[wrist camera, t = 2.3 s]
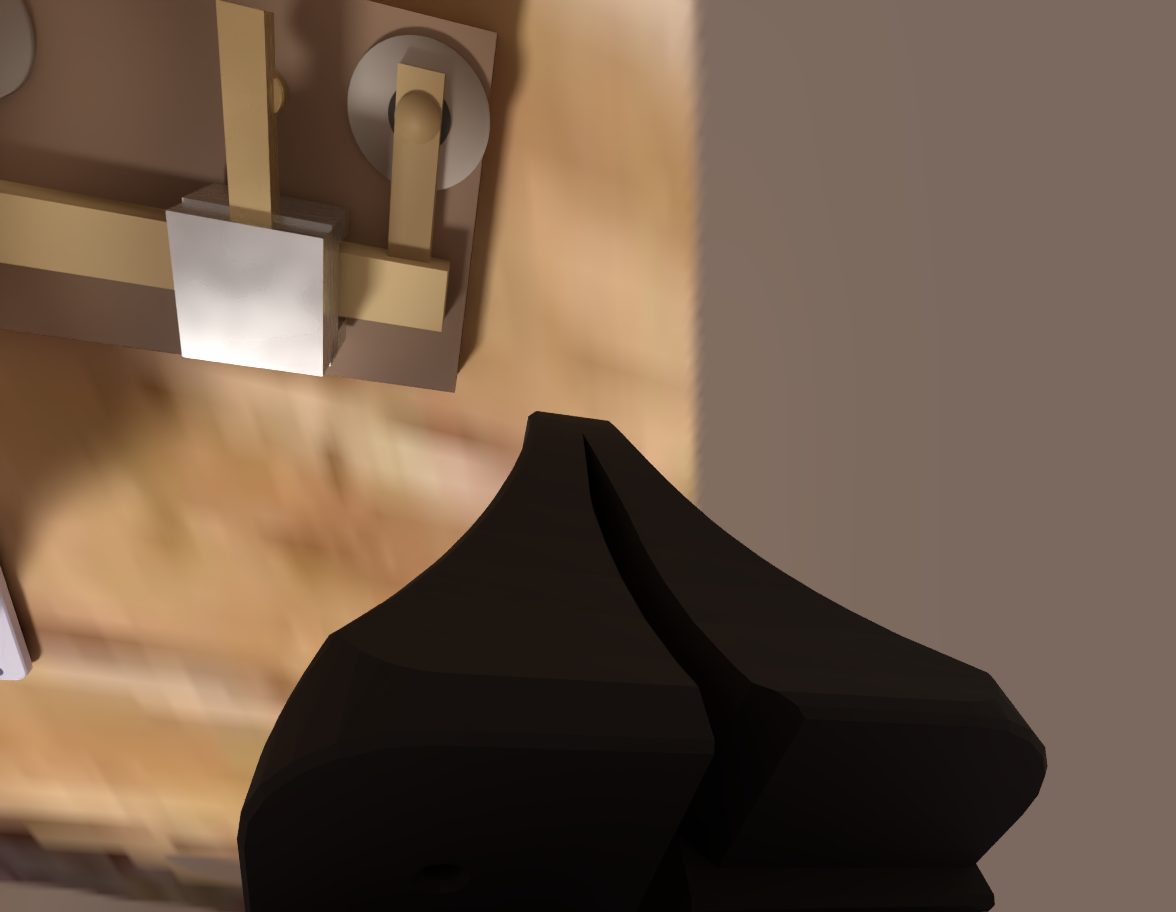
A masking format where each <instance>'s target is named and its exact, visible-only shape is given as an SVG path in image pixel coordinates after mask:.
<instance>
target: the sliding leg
mask: <svg viewBox="0 0 1176 912" xmlns="http://www.w3.org/2000/svg"><path fill="white" fill-rule="evenodd" d="M216 11H217V26H218V41H219V56H220V71H221V86H222V101H223V116H224V132H225V147H226V162H227V177H228V185H223V184H218V183H213V184H211V185H208V186H206V187H204V188H202V189H200V190H197V191H195V192H193V193H191V194H189V195H186V196H184V197H182V203H180V204H178V205H176V206H174V207H172V208H169V209H167V210H165V211H166V220H167V228H168V237H169V246H170V255H171V263H172V272H173V281H174V290H175V298H176V307H177V316H178V324H179V333H180V342H181V351H182V357H186V358H194V359H201V360H208V361H215V362H222V363H230V364H237V365H244V366H251V367H258V368H266V369H273V370H280V371H287V372H294V373H301V374H309V375H316V376H323V375H324V373H325V372H326V370H327V368H328V366H331V365H332V363H333V361H334V359H335V357H336V356H337V354H338V352H339V350H340V348H341V347H342V345H343V343H344V341H345V339H346V318H345V317H339V316H338V302H339V243H340V242H341V241H342V240H343V239H344V238H345V237H346V235H347V234H348V221H349V208H344V207H339V206H334V205H329V204H323V203H318V202H313V201H307V200H302V199H297V198H292V197H286V196H281V195H279V172H278V137H277V116H278V115H280V114H281V113H282V112H283V111H284V110H285V109H286V108H287V106H288V103H289V89H288V85H287V83H286V81H285V79H284V77H283V76H282V74H281V73H280V72H279V71H278V70H277V69H276V68H275V35H274V13H273V12H269V11H265V10H261V9H256V8H252V7H248V6H244V5H240V4H236V3H232V2H227V1H222V0H216Z"/></svg>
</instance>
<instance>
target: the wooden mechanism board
mask: <svg viewBox="0 0 1176 912" xmlns="http://www.w3.org/2000/svg"><path fill="white" fill-rule="evenodd" d="M222 1H227V2H232V3H236V4H240V5H244V6H248V7H252V8H256V9H261V10H265V11H269V12H273V13H274V35H275V68H276V69H277V70H278V71H279V72H280V73H281V74H282V76H283V77H284V79H285V81H286V83H287V85H288V89H289V103H288V106H287V108H286V109H285V110H284V111H283V112H282V113H281V114H280V115H278V116H277V137H278V172H279V195H281V196H286V197H292V198H297V199H302V200H307V201H313V202H318V203H323V204H329V205H334V206H339V207H344V208H349V221H348V234H347V235H346V237H345V238H344V239H343V240H342V241H341V242H340V243H339V302H338V316H339V317H345V318H346V339H345V341H344V343H343V345H342V347H341V348H340V350H339V352H338V354H337V356H336V357H335V359H334V361H333V363H332V365H331V366H328V368H327V370H326V372H325V373H324V375H331V376H338V377H346V378H353V379H360V380H367V381H374V382H381V383H389V384H396V385H403V386H410V387H417V388H424V389H432V390H439V391H446V392H453V393H455V387H456V380H457V373H458V365H459V356H460V348H461V339H462V331H463V322H464V314H465V306H466V297H467V289H468V280H469V272H470V263H471V255H472V246H473V238H474V229H475V221H476V213H477V204H478V196H479V187H480V179H481V170H482V162H483V154H484V152H485V149H486V146H487V143H488V138H489V133H490V111H489V103H490V94H491V86H492V77H493V69H494V61H495V52H496V44H497V35H498V34H497V33H495V32H491V31H488V30H484V29H480V28H476V27H472V26H468V25H464V24H460V23H456V22H452V21H448V20H444V19H440V18H436V17H432V16H428V15H424V14H420V13H416V12H412V11H408V10H404V9H400V8H396V7H392V6H388V5H384V4H380V3H376V2H372V1H368V0H222ZM213 183H218V184H223V185H228V177H227V162H226V147H225V132H224V116H223V101H222V86H221V71H220V56H219V41H218V26H217V11H216V0H0V329H2V330H9V331H16V332H23V333H31V334H38V335H45V336H52V337H59V338H66V339H74V340H81V341H88V342H95V343H102V344H109V345H117V346H124V347H131V348H138V349H145V350H152V351H159V352H167V353H174V354H181V355H182V351H181V342H180V333H179V324H178V316H177V307H176V298H175V290H174V281H173V272H172V263H171V255H170V246H169V237H168V228H167V220H166V211H165V210H167V209H169V208H172V207H174V206H176V205H178V204H180V203H182V197H184V196H186V195H189V194H191V193H193V192H195V191H197V190H200V189H202V188H204V187H206V186H208V185H211V184H213Z"/></svg>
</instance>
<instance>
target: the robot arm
mask: <svg viewBox="0 0 1176 912" xmlns="http://www.w3.org/2000/svg"><path fill="white" fill-rule="evenodd" d="M31 670H32V662H31V659H30V656H29V653H28V650H27V647H26V644H25V641H24V637H23V634H22V631H21V628H20V625H19V622H18V619H17V616H16V613H15V610H14V607H13V604H12V600H11V597H10V594H9V591H8V588H7V585H6V582H5V579H4V576H3V573H2V570H1V567H0V680H21V679H23V678H25V677H26V676H27V675H28V673H29V672H30V671H31ZM1046 770H1047V759H1046V751H1045V746H1044V745H1043V744H1042V742H1041V741H1040V740H1039V738H1038V737H1037V736H1036V734H1035V733H1034V732H1033V731H1032V729H1031V728H1030V727H1029V725H1028V724H1027V723H1026V721H1025V720H1024V719H1023V717H1022V716H1021V715H1020V713H1019V712H1018V711H1017V709H1016V708H1015V707H1014V705H1013V704H1012V703H1011V701H1010V700H1009V699H1008V697H1007V696H1006V695H1005V693H1004V692H1003V691H1002V689H1001V688H1000V687H999V685H998V684H997V683H996V681H995V680H994V679H993V678H992V676H991V675H989V673H987V672H985V671H982V670H980V669H978V668H975V667H973V666H971V665H968V664H966V663H964V662H961V661H959V660H956V659H954V658H952V657H949V656H947V655H945V654H942V653H940V652H938V651H936V650H933V649H931V648H928V647H926V646H924V645H921V644H919V643H917V642H914V641H912V640H910V639H907V638H905V637H903V636H900V635H898V634H896V633H894V632H892V631H890V630H888V629H886V628H884V627H882V626H880V625H878V624H876V623H874V622H872V621H870V620H868V619H866V618H864V617H862V616H860V615H858V614H856V613H854V612H852V611H850V610H848V609H846V608H844V607H843V606H841V605H839V604H837V603H835V602H833V601H832V600H830V599H828V598H826V597H824V596H823V595H821V594H819V593H817V592H815V591H814V590H812V589H811V588H809V587H807V586H806V585H804V584H802V583H801V582H799V581H797V580H796V579H794V578H792V577H791V576H789V575H787V574H786V573H784V572H782V571H781V570H779V569H778V568H776V567H775V566H773V565H772V564H770V563H769V562H767V561H766V560H764V559H763V558H761V557H760V556H758V555H757V554H756V553H754V552H753V551H751V550H750V549H749V548H747V547H746V546H745V545H743V544H742V543H740V542H739V541H738V540H736V539H735V538H734V537H732V536H731V535H730V534H728V533H727V532H726V531H724V530H723V529H722V528H721V527H719V526H718V525H717V524H715V523H714V522H713V521H712V520H711V519H709V518H708V517H707V516H706V515H705V514H704V513H703V512H701V511H700V510H699V509H698V508H697V507H696V506H695V505H693V504H692V503H691V502H690V501H689V500H688V499H687V498H685V497H684V496H683V495H682V494H681V493H680V492H679V491H678V490H677V489H676V488H675V487H674V486H673V485H672V484H671V483H670V482H669V481H668V480H667V479H666V478H665V477H664V476H663V475H662V474H661V473H660V472H659V471H658V470H657V469H656V468H655V467H654V466H653V465H652V464H651V463H650V462H649V461H648V460H647V459H646V458H645V457H644V456H643V455H642V454H641V453H640V452H639V451H638V450H637V449H636V448H635V447H634V446H633V445H632V444H631V442H630V441H629V440H628V439H627V438H626V437H625V436H624V435H623V434H622V433H621V432H620V431H619V430H618V429H617V428H616V427H615V426H614V425H613V424H612V423H610V422H609V421H605V420H598V419H591V418H583V417H576V416H569V415H562V414H554V413H547V412H540V411H536V412H534V413H533V414H531V415H530V416H528V421H527V427H526V432H525V437H524V443H523V448H522V451H521V453H520V455H519V457H518V459H517V461H516V463H515V466H514V467H513V469H512V471H511V473H510V474H509V476H508V478H507V479H506V481H505V482H504V484H503V485H502V487H501V489H500V490H499V492H498V493H497V495H496V496H495V498H494V499H493V500H492V502H491V503H490V504H489V506H488V507H487V508H486V510H485V511H484V512H483V513H482V515H481V516H480V517H479V518H478V519H477V521H476V522H475V523H474V524H473V525H472V526H471V528H470V529H469V530H468V531H467V532H466V533H465V534H464V535H463V536H462V537H461V538H460V539H459V540H458V541H457V542H456V543H455V544H454V545H453V546H452V547H451V548H450V549H449V550H448V551H447V552H446V553H445V554H444V555H443V556H442V557H441V558H440V559H438V560H437V561H436V562H435V563H434V564H433V565H431V566H430V567H429V568H428V569H426V570H425V571H424V572H423V573H421V574H420V575H419V576H417V577H416V578H415V579H414V580H412V581H411V582H410V583H409V584H407V585H406V586H405V587H404V588H402V589H401V590H400V591H398V592H397V593H396V594H394V595H393V596H391V597H390V598H389V599H387V600H386V601H384V602H383V603H381V604H379V605H378V606H376V607H375V608H373V609H371V610H370V611H368V612H367V613H365V614H363V615H362V616H360V617H359V618H357V619H355V620H354V621H352V622H350V623H349V624H347V625H346V626H344V627H342V628H341V629H339V630H337V631H335V632H334V633H332V634H330V635H329V636H328V638H327V639H326V641H325V642H324V644H323V645H322V646H321V648H320V649H319V651H318V652H317V654H316V655H315V657H314V659H313V660H312V662H311V663H310V665H309V666H308V668H307V669H306V671H305V672H304V674H303V675H302V677H301V679H300V680H299V682H298V684H297V685H296V687H295V689H294V690H293V692H292V694H291V695H290V697H289V699H288V700H287V702H286V704H285V706H284V708H283V710H282V712H281V714H280V715H279V717H278V719H277V721H276V723H275V726H274V728H273V730H272V732H271V734H270V736H269V738H268V740H267V742H266V744H265V746H264V749H263V751H262V754H261V756H260V759H259V762H258V764H257V767H256V770H255V773H254V776H253V779H252V782H251V785H250V788H249V790H248V793H247V796H246V799H245V802H244V805H243V808H242V811H241V815H240V822H239V829H238V836H237V843H238V852H239V860H240V869H241V878H242V886H243V895H244V904H245V912H988V911H989V910H990V909H991V908H992V907H993V906H994V905H995V902H994V894H993V892H992V890H991V889H990V887H989V885H988V884H987V882H986V880H985V878H984V877H983V875H982V873H981V871H980V870H979V868H978V866H977V864H976V863H977V862H978V861H979V860H980V858H981V857H982V856H983V855H984V854H985V853H986V852H987V851H988V850H989V849H990V848H991V847H992V846H993V845H994V844H995V843H996V842H997V841H998V840H999V839H1000V838H1001V837H1002V836H1003V835H1004V834H1005V832H1006V831H1007V830H1008V829H1009V828H1010V827H1011V826H1012V825H1013V824H1014V823H1015V822H1016V821H1017V820H1018V819H1019V818H1020V817H1021V816H1022V815H1023V813H1024V812H1025V811H1026V810H1027V808H1028V807H1029V806H1030V805H1031V803H1032V802H1033V801H1034V799H1035V798H1036V797H1037V795H1038V794H1039V791H1040V788H1041V785H1042V782H1043V780H1044V777H1045V774H1046Z"/></svg>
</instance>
